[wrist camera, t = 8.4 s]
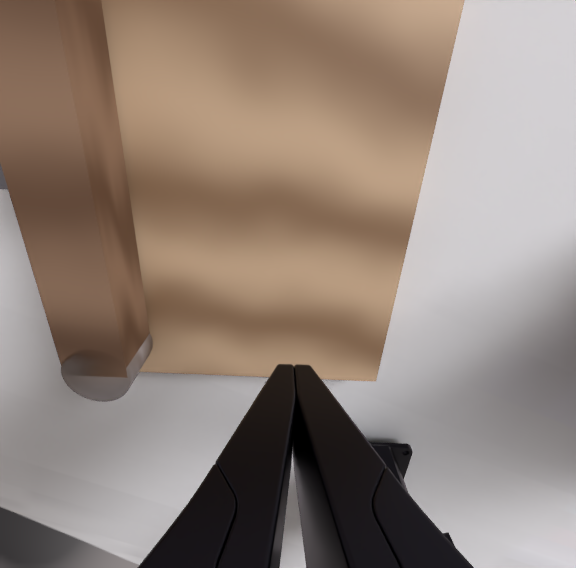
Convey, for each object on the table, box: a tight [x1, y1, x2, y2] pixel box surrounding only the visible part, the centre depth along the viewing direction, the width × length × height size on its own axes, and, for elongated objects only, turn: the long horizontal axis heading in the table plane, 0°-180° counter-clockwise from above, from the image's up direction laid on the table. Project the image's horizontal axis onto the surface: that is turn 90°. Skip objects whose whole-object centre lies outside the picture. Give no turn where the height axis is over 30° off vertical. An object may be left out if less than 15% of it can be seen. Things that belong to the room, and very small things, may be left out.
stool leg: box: [0, 0, 153, 401], centre depth 14 cm, size 18×3×3 cm, turn 177°
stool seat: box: [0, 0, 464, 381], centre depth 15 cm, size 20×18×4 cm
